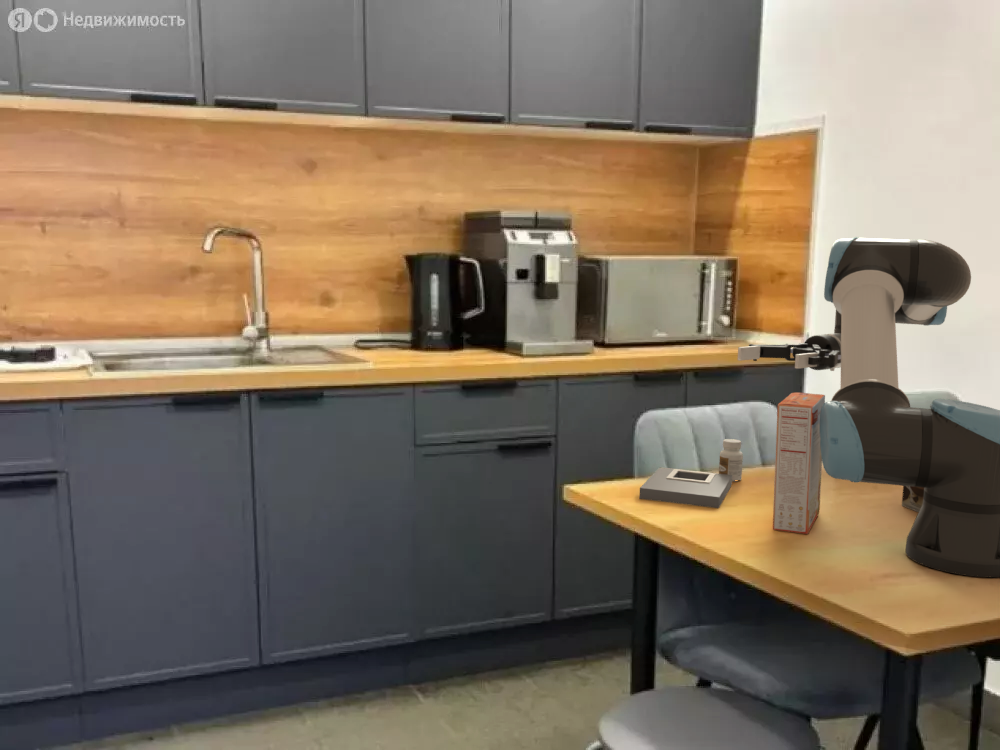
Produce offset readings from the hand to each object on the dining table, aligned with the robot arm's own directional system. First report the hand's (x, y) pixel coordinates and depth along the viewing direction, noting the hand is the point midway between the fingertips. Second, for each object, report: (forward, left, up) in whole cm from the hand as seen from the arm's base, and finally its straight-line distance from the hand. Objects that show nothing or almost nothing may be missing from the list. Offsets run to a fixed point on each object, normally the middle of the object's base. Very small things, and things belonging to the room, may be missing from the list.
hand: (767, 357), depth 189 cm
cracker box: (-35, -9, -24) cm, 43 cm away
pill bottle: (-9, +5, -24) cm, 26 cm away
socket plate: (-23, +11, -23) cm, 35 cm away
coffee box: (-17, -31, -24) cm, 43 cm away
